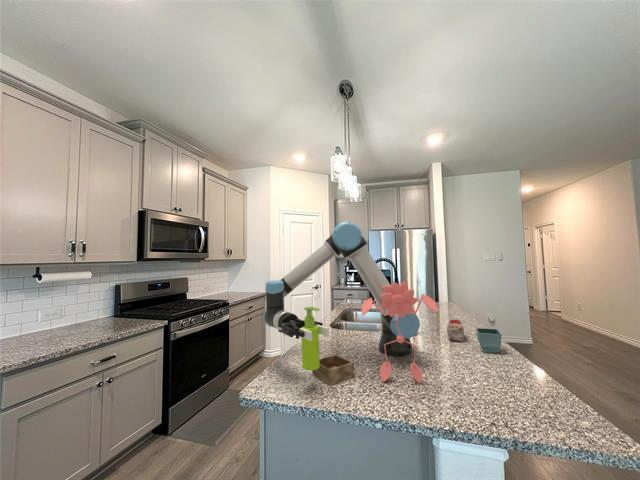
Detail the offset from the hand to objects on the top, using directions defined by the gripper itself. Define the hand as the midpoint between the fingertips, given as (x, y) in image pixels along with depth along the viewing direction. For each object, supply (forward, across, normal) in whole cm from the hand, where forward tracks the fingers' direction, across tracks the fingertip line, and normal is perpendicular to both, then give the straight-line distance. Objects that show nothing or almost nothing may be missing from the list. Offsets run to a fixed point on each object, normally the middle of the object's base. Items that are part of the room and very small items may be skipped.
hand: (319, 334), depth 89 cm
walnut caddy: (-9, -12, -19) cm, 24 cm away
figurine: (+11, -25, -20) cm, 34 cm away
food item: (-5, -88, -21) cm, 91 cm away
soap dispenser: (-5, 0, -12) cm, 13 cm away
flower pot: (+14, -82, -21) cm, 85 cm away
